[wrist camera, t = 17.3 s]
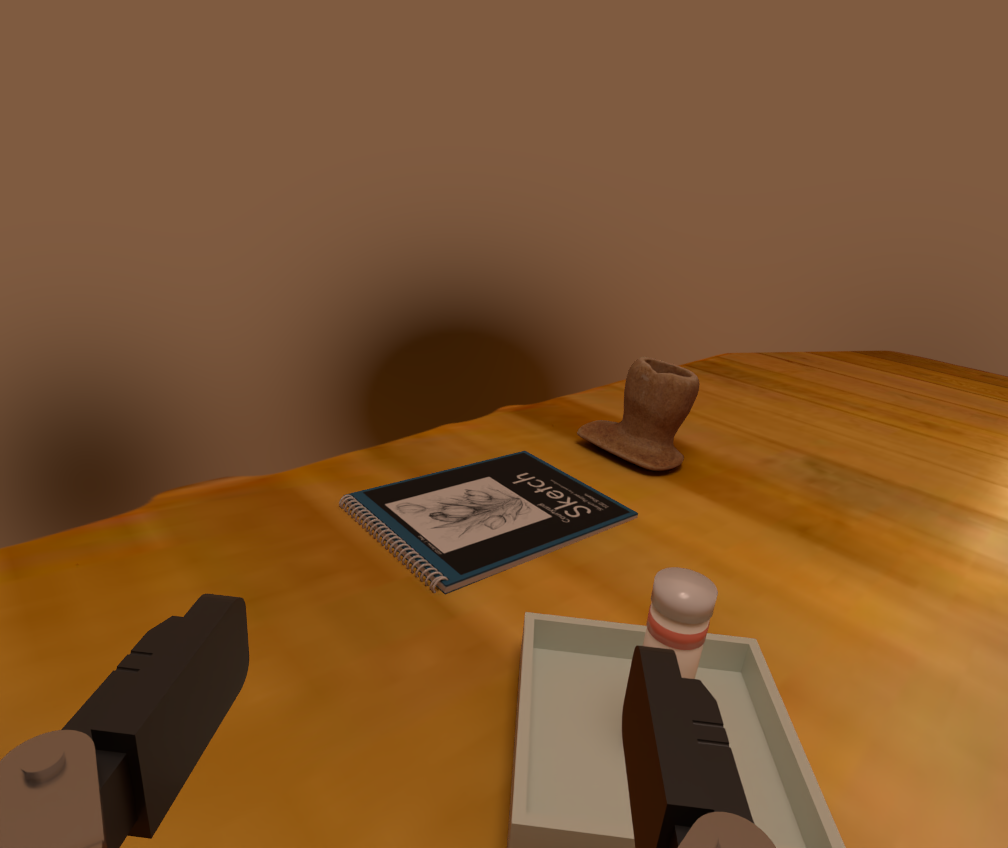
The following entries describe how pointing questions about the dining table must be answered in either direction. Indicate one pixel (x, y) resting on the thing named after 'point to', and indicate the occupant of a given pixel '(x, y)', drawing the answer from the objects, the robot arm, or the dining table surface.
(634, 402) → the stone cup
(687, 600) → the fuse
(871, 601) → the dining table surface
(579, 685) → the parts tray
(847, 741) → the dining table surface
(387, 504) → the sketchbook
